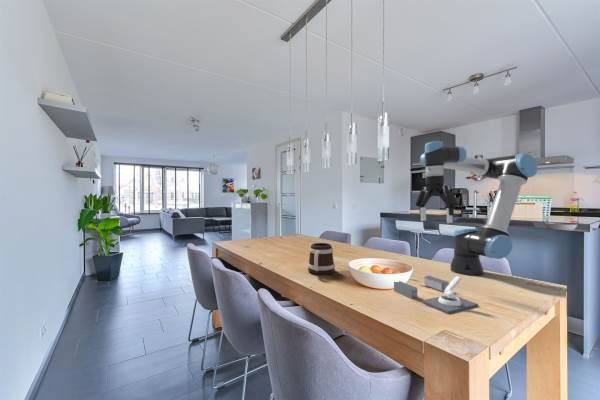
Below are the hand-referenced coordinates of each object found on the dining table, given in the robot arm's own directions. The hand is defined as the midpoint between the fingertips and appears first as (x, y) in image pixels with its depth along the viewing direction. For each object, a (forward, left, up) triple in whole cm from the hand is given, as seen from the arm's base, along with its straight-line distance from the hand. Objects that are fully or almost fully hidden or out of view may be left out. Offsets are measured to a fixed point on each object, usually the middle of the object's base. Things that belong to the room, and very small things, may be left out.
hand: (436, 221), depth 124 cm
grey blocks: (+13, +3, -29) cm, 32 cm away
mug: (+39, -41, -29) cm, 64 cm away
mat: (+15, +18, -29) cm, 38 cm away
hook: (+15, +18, -28) cm, 37 cm away
